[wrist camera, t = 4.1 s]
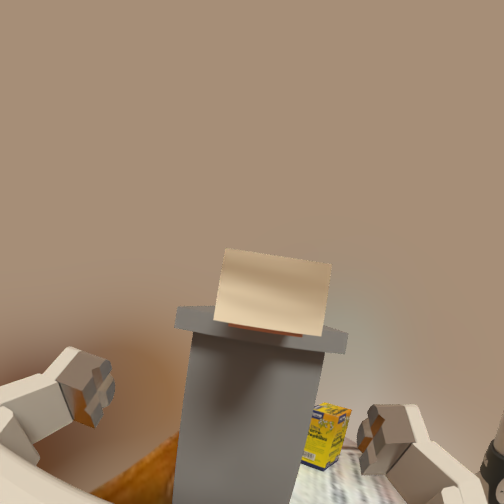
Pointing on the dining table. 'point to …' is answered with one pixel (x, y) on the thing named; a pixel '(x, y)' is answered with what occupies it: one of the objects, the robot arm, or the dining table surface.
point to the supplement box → (325, 436)
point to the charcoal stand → (245, 410)
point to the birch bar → (272, 293)
